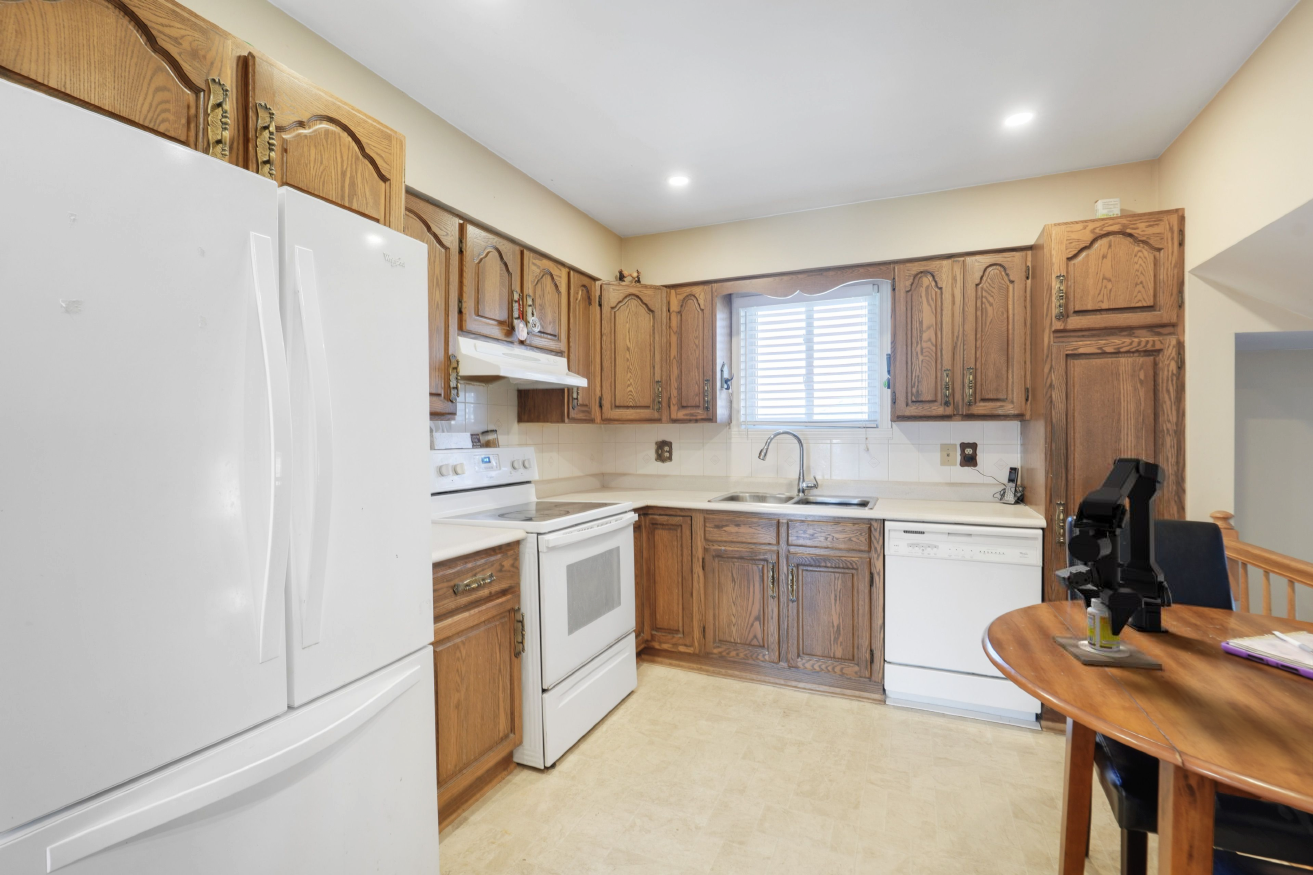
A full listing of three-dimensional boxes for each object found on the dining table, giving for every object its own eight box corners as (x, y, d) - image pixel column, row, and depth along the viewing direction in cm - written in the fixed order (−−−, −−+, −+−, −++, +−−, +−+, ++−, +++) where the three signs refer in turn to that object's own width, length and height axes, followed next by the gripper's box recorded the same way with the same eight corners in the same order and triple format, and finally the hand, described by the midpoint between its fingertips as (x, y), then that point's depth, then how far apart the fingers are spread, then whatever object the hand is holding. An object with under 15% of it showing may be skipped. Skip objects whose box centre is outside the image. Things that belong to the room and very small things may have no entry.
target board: (1052, 640, 134) (1052, 634, 134) (1123, 643, 131) (1123, 638, 131) (1082, 663, 120) (1082, 658, 120) (1161, 669, 117) (1161, 663, 117)
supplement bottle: (1125, 649, 124) (1125, 601, 124) (1110, 654, 122) (1110, 605, 122) (1096, 641, 129) (1096, 595, 129) (1081, 645, 127) (1081, 598, 127)
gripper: (1042, 546, 136) (1042, 612, 136) (1081, 564, 118) (1081, 641, 118) (1096, 547, 133) (1097, 615, 134) (1145, 566, 115) (1146, 644, 115)
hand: (1103, 628), depth 125 cm, fingers open, 9 cm apart
